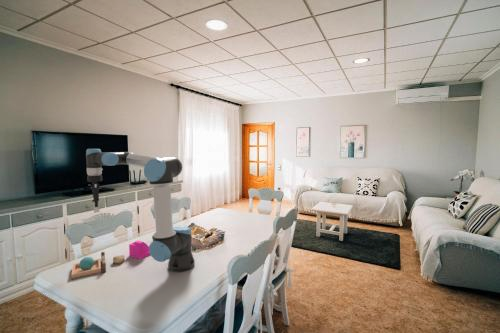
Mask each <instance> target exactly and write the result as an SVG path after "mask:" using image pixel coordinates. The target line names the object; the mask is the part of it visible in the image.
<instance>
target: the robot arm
mask: <svg viewBox="0 0 500 333" xmlns="http://www.w3.org/2000/svg"><path fill="white" fill-rule="evenodd" d="M85 152H86V153H85V158H86V161H85V162H86V175H87V178H86V179H87V182H88V183H92V184H91V186H90V187H91V192H92V201H91V202H92V207H93V213H100V195H99V191H100V184H99V183H98V182H102V181H103V175H102V174H103V172H102V171H103V170H104V169H103V168H102V167H103V166H108V167H109V166H116V165H117V166H118V165H127V166H132V167H138V168H139V167H140V168H143V175H144V177H145V178H146V180H148V181H149V185H150V186H151V187H152V190H153V191H152V193H153V204H154V205H153V206H154V209H153V210H154V222H155V223H154V224H155V225H154V226H155V232H154V233H153V234H152V236H153V239H152V242H151V243H150V244H149V245H148V246H149V252H150V255H149V256H151V258H153V259H154V261H156V262H160V263H163V262H166V261H167V260H168V263H167V268H168V270H169V271H171V272H176V273H179V272H182V273H183V272H186V271H188V270H191V269H192V268H193V267H194V266H195V258H194V255H193V252H192V235H193V234H192V229H191V228H190V227H189V226H182V225H181V226H174V224H173V209H172V208H173V207H172V192H171V185H172V184H173V183H174V178H176V177H178V176H179V175H180V174H181V172H182V171H183V164H182V161H181V160H180V159H179V158H177V157H175V156H164V157H158V156H152V155H147V154H146V155H145V154H139V153H133V152H132V151H119V152H118V151H115V152H114V151H113V152H111V151H110V152H109V151H108V152H107V151H105V152H102V150H101V149H100V148H87V149H86V151H85Z"/></svg>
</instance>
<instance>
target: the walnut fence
mask: <svg viewBox="0 0 500 333" xmlns="http://www.w3.org/2000/svg"><path fill="white" fill-rule="evenodd" d="M105 252H106V251H101V253H100V256H101V258H100V259H101V273H103V274H105V273H107V267H106V266H107V264H106V263H107V262H105V261H106V258H105V257H106V254H105Z"/></svg>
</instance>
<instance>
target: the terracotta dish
mask: <svg viewBox="0 0 500 333" xmlns="http://www.w3.org/2000/svg"><path fill="white" fill-rule="evenodd" d="M93 260H94V265H93V267H92V268H91V269H89V270H82V269H81V268H80V267H79V263H80V262H78V263H73V264H72V270H71V280H74V279H79V278H84V277H88V276H92V275H97V274H100V273H102V261H101V258H98V259H93Z"/></svg>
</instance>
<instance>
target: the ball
mask: <svg viewBox="0 0 500 333" xmlns="http://www.w3.org/2000/svg"><path fill="white" fill-rule="evenodd" d="M94 260H95V259H94V258H92V257H91V256H86V257H83V258H82V259H81V260H80V261H79V262H78V263H79V267H80V268H81V269H82V270H89V269H91V268H92V267H93V265H94Z"/></svg>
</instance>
